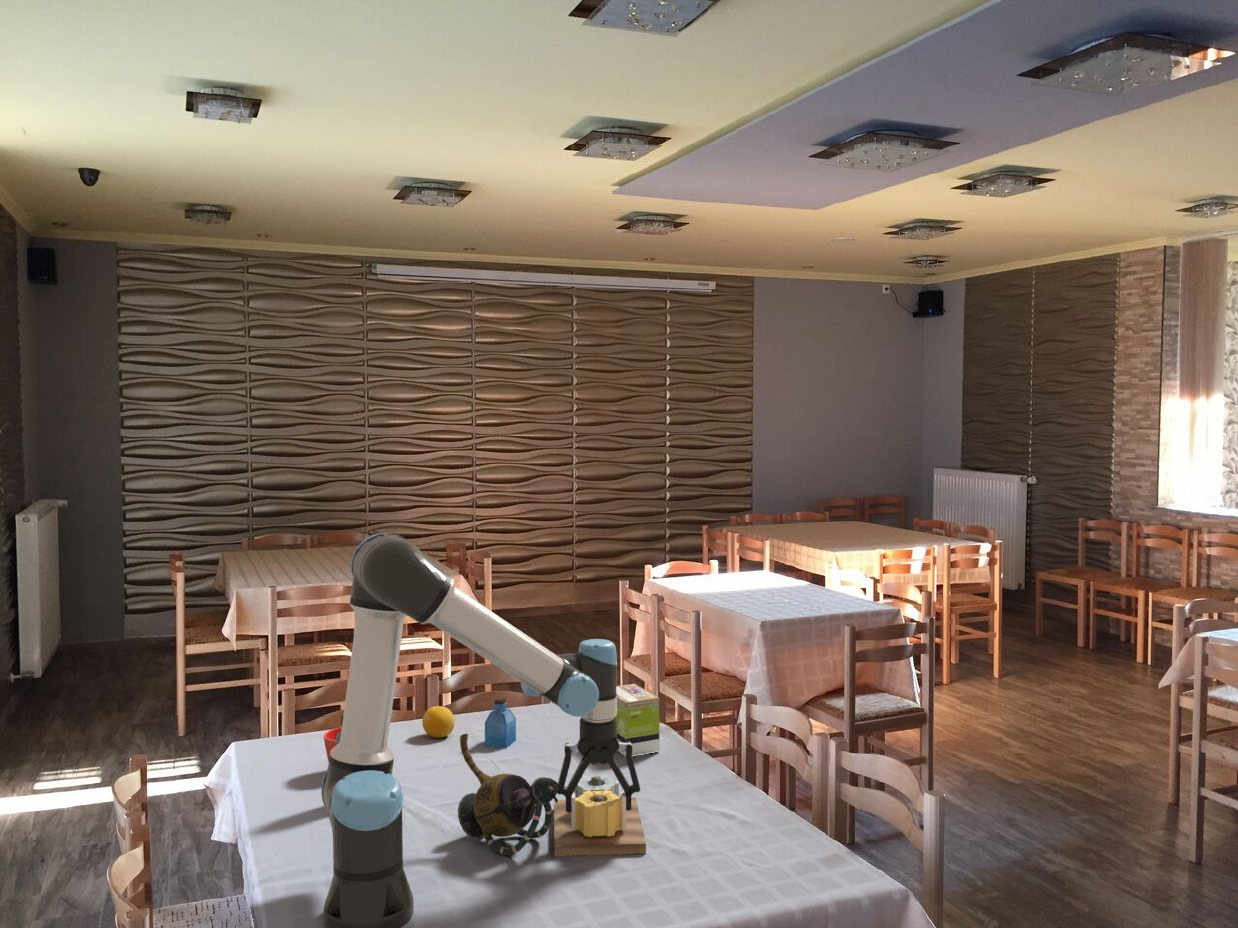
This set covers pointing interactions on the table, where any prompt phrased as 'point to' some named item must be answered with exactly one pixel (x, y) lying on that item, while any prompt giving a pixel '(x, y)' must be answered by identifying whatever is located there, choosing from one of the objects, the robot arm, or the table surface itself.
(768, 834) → the table surface
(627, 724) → the tea box
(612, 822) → the ochre gear
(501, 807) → the teapot
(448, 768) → the table surface
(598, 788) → the pale grey gear
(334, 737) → the flower pot
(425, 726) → the fruit
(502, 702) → the perfume bottle
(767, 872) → the table surface
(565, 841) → the gear board
